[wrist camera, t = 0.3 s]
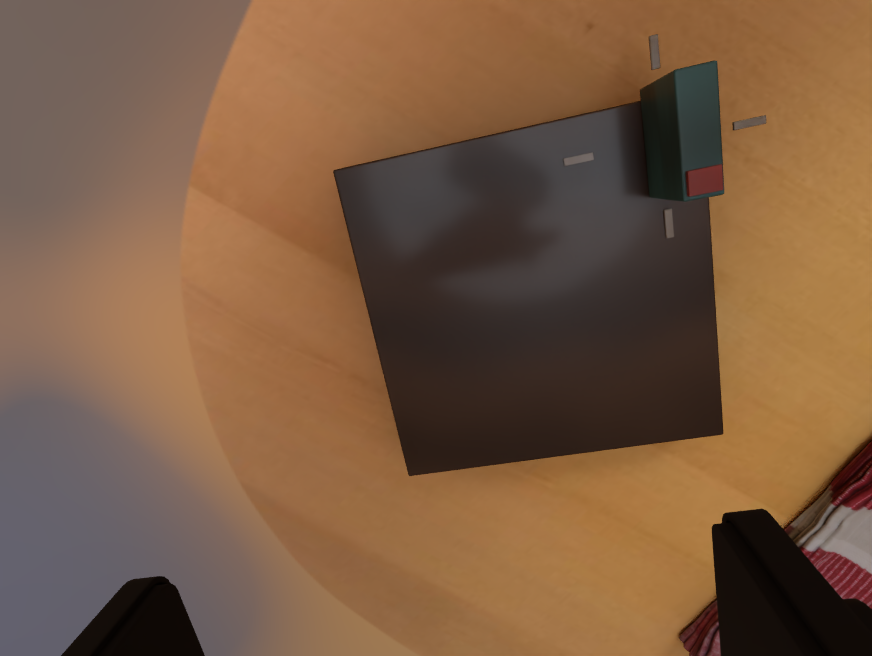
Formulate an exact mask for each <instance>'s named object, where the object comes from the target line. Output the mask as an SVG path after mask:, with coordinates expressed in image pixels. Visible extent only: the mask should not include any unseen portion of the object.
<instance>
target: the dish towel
mask: <svg viewBox="0 0 872 656" xmlns="http://www.w3.org/2000/svg"><path fill="white" fill-rule="evenodd" d="M784 531H785V532H786V533H787V534H788V536H789V537H790V538H791V539H792V540H793V541H794V543H795V544H796V545H797V546H798V547H799V548H800V550H801V551H802V552H803V553H804V554H805V555H806V557H807V558H808V559H809V560H810V561H811V563H812V564H813V565H814V566H815V567H816V568H817V570H818V571H819V572H820V573H821V574H822V575H823V577H824V578H825V579H826V580H827V581H828V582H829V584H830V585H831V586H832V587H833V588H834V589H835V591H836V592H837V593H838V594H839V595H840V596H841V598H842V599H849V598H856V599H858V600H860V601H862V602H864V603H865V604H867V605H868V606H869V607H870V608H871V609H872V441H871V442H870V443H869V444H868V445H867V446H866V447H865V448H864V449H863V450H862V451H861V452H860V453H859V454H858V455H857V456H856V457H855V458H854V459H853V460H852V461H851V462H850V463H849V464H848V465H847V466H846V467H845V468H844V469H843V470H842V471H841V472H840V473H839V474H838V475H837V477H836V478H835V479H834V480H833V481H832V482H831V484H830V486H829V487H828V489H827V490H826V491H825V492H824V493H823V495H822V496H821V497H820V498H819V499H818V500H817V501H816V502H815V503H814V504H813V505H812V506H810V507H809V508H808V509H807V510H806V511H804V512H803V513H802V514H801V515H800V516H799V517H798V518H797V519H796V520H795V521H793V522H792V523H791V524H790V525H789V526H788V527H787V528H786V529H785V530H784ZM679 638H680V640H681V641H682V642H683V643H684V648H685V649H686V650H687V651H689V652H690V653H689V656H721V651H720V637H719V623H718V610H717V600H716V601H715V602H713V603H712V604H711V605H710V606H709V607H708V608H707V609H706V610H705V611H704V612H703V613H702V615H701V616H700V617H699V618H698V619H697V620H696V621H695V622H694V623H693V624H691V625H690V626H689V627H688V628H687V629H686V630H685V631H684V632H683V633H682V634H681V635H680V636H679Z"/></svg>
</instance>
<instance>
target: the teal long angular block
mask: <svg viewBox="0 0 872 656" xmlns="http://www.w3.org/2000/svg"><path fill="white" fill-rule="evenodd" d="M640 97H641V108H642V119H643V130H644V141H645V152H646V163H647V174H648V185H649V195H650V198H657V199H665V200H674V201H682V202H687V201H692V200H697V199H702V198H707V197H712V196H718V195H722V194H724V178H723V160H722V141H721V123H720V105H719V86H718V68H717V61H710V62H706V63H702V64H697V65H693V66H689V67H684V68H680V69H676V70H674V71H672V72H670V73H668V74H667V75H665V76H663V77H661V78H660V79H658V80H656V81H654V82H653V83H651V84H649V85H647V86H645V87H644V88H642V89H640Z"/></svg>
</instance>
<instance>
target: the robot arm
mask: <svg viewBox="0 0 872 656" xmlns="http://www.w3.org/2000/svg"><path fill="white" fill-rule="evenodd" d="M712 541H713V555H714V568H715V582H716V596H717V610H718V623H719V637H720V651H721V656H872V609H871V608H870V607H869V606H868V605H867V604H865V603H864V602H862V601H860V600H858V599H856V598H849V599H842V598H841V596H840V595H839V594H838V593H837V592H836V591H835V589H834V588H833V587H832V586H831V585H830V584H829V582H828V581H827V580H826V579H825V578H824V577H823V575H822V574H821V573H820V572H819V571H818V570H817V568H816V567H815V566H814V565H813V564H812V563H811V561H810V560H809V559H808V558H807V557H806V555H805V554H804V553H803V552H802V551H801V550H800V548H799V547H798V546H797V545H796V544H795V543H794V541H793V540H792V539H791V538H790V537H789V536H788V534H787V533H786V532H785V531H784V530H783V529H782V527H781V526H780V525H779V524H778V523H777V521H776V520H775V519H774V518H773V517H772V516H771V514H769V513H768V512H767V511H766V510H764V509H756V510H747V511H738V512H729V513H725V514H723V517H722V523H721V524H714V525H713V526H712ZM61 656H205V655H204V653H203V651H202V648H201V646H200V643H199V640H198V638H197V636H196V633H195V631H194V628H193V626H192V623H191V621H190V619H189V616H188V614H187V612H186V609H185V607H184V604H183V602H182V599H181V597H180V594H179V592H178V590H177V588H176V586H174V585H173V584H171V583H170V582H169V580H168V579H166V578H165V577H162V576H158V577H149V578H140V579H133V580H130V581H128V582H127V583H126V584H125V585H123V586H122V588H120V590H119V591H118V592H117V593H116V594H115V595H114V596H113V598H112V599H111V600H110V601H109V602H108V603H107V604H106V605H105V607H104V608H103V609H102V610H101V611H100V612H99V613H98V615H97V616H96V617H95V618H94V619H93V620H92V621H91V622H90V624H89V625H88V626H87V627H86V628H85V629H84V631H82V633H81V634H80V635H79V636H78V637H77V638H76V639H75V640H74V642H73V643H72V644H71V645H70V646H69V647H68V649H66V651H65V652H64V653H63V654H62V655H61Z"/></svg>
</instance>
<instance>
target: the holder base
mask: <svg viewBox="0 0 872 656" xmlns="http://www.w3.org/2000/svg"><path fill="white" fill-rule="evenodd" d="M649 48H650V60H651V70H654V69H658V68H660V57H659V44H658V34H656V35H652V36H649ZM761 124H766V115H764V116H760V117H755V118H750V119H746V120H741V121H736V122H733V130H737V129H742V128H747V127H752V126H756V125H761ZM333 173H334V177H335V181H336V185H337V189H338V193H339V197H340V201H341V205H342V209H343V213H344V217H345V221H346V225H347V229H348V233H349V237H350V241H351V245H352V249H353V253H354V257H355V261H356V265H357V269H358V273H359V277H360V281H361V285H362V289H363V293H364V297H365V302H366V306H367V310H368V314H369V318H370V322H371V326H372V330H373V334H374V338H375V342H376V346H377V350H378V354H379V358H380V362H381V366H382V370H383V374H384V378H385V382H386V386H387V390H388V394H389V398H390V402H391V406H392V410H393V414H394V418H395V422H396V426H397V430H398V435H399V439H400V443H401V447H402V451H403V455H404V459H405V463H406V467H407V471H408V475H409V476H413V475H421V474H428V473H436V472H443V471H451V470H458V469H466V468H474V467H481V466H489V465H496V464H504V463H511V462H519V461H526V460H534V459H541V458H549V457H556V456H564V455H572V454H579V453H587V452H594V451H602V450H609V449H617V448H624V447H632V446H639V445H647V444H654V443H662V442H670V441H677V440H685V439H692V438H700V437H707V436H715V435H722V434H723V419H722V403H721V387H720V371H719V355H718V339H717V323H716V307H715V291H714V274H713V258H712V242H711V226H710V210H709V197H707V198H702V199H697V200H692V201H687V202H682V201H674V200H665V199H657V198H650V195H649V185H648V174H647V163H646V152H645V141H644V130H643V119H642V108H641V101H638V102H634V103H629V104H625V105H621V106H616V107H612V108H607V109H603V110H598V111H594V112H589V113H585V114H581V115H576V116H572V117H567V118H563V119H558V120H554V121H550V122H545V123H541V124H536V125H532V126H527V127H523V128H518V129H514V130H510V131H505V132H501V133H496V134H492V135H487V136H483V137H479V138H474V139H470V140H465V141H461V142H456V143H452V144H447V145H443V146H439V147H434V148H430V149H425V150H421V151H416V152H412V153H408V154H403V155H399V156H394V157H390V158H385V159H381V160H376V161H372V162H368V163H363V164H359V165H354V166H350V167H345V168H341V169H337V170H334V171H333Z"/></svg>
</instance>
